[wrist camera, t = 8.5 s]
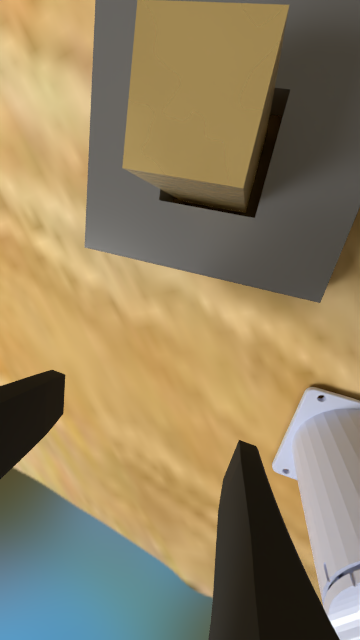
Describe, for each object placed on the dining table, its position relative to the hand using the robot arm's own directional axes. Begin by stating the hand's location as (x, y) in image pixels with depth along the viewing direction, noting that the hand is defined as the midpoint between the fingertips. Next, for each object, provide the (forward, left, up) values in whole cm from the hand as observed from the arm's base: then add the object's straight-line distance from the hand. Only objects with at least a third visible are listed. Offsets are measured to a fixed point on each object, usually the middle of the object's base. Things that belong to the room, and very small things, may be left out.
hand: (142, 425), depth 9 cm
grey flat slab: (+1, -11, -9) cm, 14 cm away
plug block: (+1, -11, -9) cm, 14 cm away
